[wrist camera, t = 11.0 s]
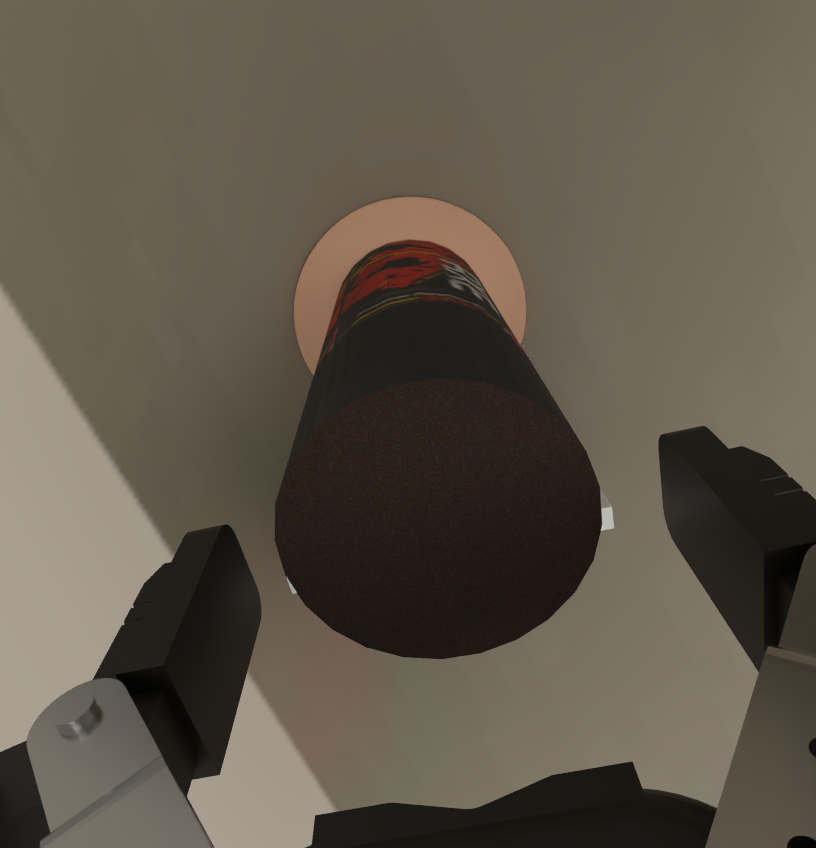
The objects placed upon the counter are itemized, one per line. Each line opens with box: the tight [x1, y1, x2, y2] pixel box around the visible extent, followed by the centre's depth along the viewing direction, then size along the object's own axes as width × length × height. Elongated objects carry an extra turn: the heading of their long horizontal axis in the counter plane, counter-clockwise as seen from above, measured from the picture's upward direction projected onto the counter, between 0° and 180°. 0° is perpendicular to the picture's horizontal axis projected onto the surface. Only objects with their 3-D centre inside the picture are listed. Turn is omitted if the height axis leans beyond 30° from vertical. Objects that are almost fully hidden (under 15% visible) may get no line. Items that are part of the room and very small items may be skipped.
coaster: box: [294, 196, 526, 376], centre depth 26 cm, size 9×9×1 cm
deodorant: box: [275, 239, 602, 659], centre depth 19 cm, size 6×6×15 cm
